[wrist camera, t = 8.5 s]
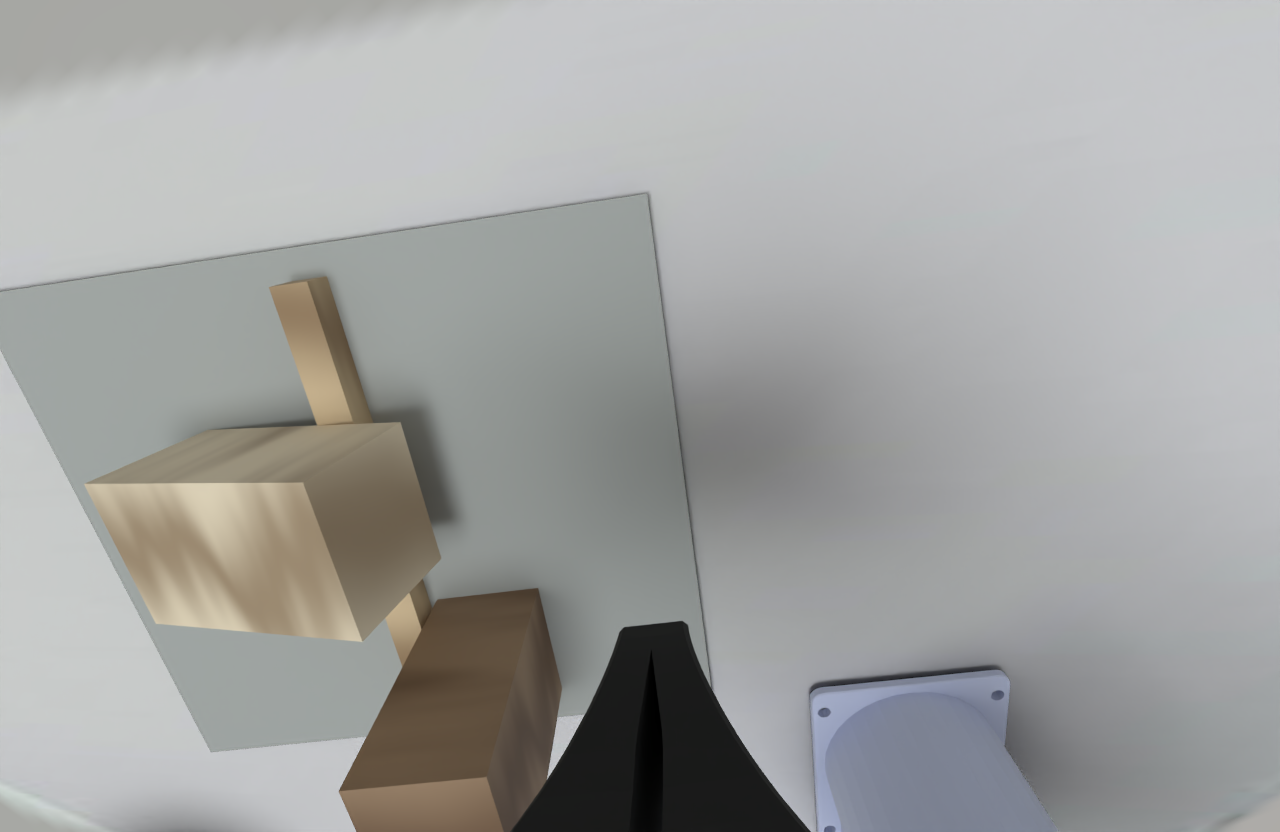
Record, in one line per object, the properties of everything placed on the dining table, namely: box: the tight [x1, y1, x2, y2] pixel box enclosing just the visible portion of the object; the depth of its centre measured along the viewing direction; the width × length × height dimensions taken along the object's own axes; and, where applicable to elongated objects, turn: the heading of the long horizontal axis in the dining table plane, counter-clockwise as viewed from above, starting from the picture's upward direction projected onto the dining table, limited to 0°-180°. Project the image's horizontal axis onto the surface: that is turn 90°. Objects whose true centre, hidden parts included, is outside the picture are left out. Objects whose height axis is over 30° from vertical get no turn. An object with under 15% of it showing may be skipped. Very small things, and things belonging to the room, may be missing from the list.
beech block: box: [84, 422, 441, 642], centre depth 19 cm, size 5×4×8 cm
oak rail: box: [269, 276, 432, 667], centre depth 22 cm, size 18×1×1 cm, turn 8°
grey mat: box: [0, 194, 711, 752], centre depth 22 cm, size 20×22×1 cm
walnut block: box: [339, 588, 562, 832], centre depth 20 cm, size 5×4×8 cm
